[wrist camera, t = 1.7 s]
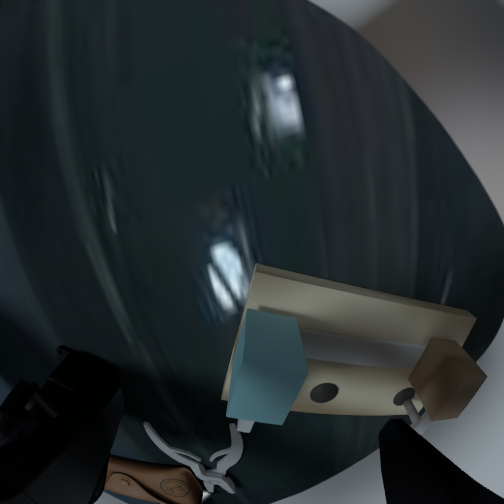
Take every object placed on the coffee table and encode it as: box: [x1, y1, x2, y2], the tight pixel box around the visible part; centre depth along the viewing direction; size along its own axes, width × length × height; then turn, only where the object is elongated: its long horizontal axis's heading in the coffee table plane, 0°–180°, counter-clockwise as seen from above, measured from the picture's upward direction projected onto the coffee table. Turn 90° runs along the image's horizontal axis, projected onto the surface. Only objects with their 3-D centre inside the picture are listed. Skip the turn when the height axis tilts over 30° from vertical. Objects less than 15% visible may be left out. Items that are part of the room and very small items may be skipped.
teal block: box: [226, 308, 308, 433], centre depth 15 cm, size 7×3×5 cm, turn 166°
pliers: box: [143, 422, 243, 493], centre depth 25 cm, size 10×2×15 cm
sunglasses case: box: [104, 454, 203, 504], centre depth 26 cm, size 18×7×7 cm, turn 97°
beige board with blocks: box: [221, 263, 487, 435], centre depth 17 cm, size 11×19×7 cm, turn 77°
